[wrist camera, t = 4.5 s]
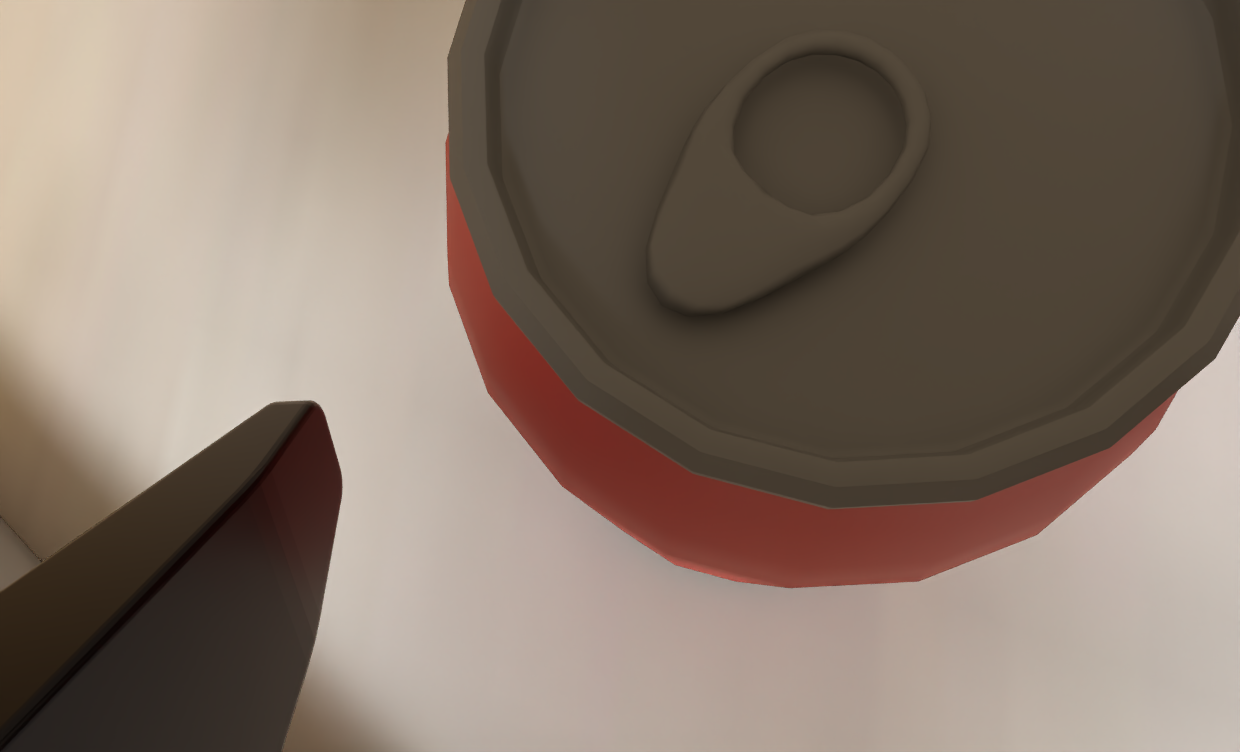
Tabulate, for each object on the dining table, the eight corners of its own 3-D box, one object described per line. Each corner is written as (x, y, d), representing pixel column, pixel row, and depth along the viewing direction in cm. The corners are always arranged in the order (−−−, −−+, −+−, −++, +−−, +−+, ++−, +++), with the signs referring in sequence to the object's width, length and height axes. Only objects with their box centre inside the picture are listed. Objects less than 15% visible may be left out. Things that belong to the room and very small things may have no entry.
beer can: (492, 411, 19) (163, 129, 7) (729, 154, 19) (801, -503, 8) (768, 662, 17) (942, 843, 6) (1009, 380, 18) (1612, 21, 6)
